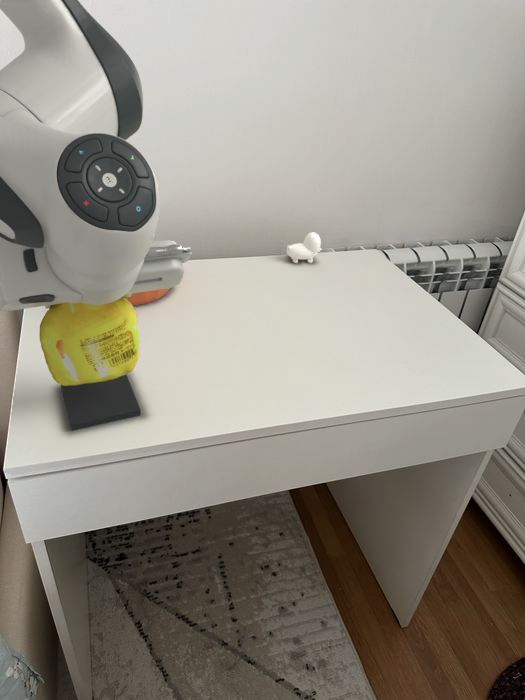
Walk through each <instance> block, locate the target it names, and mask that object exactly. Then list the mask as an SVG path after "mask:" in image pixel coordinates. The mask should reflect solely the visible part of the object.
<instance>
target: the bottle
mask: <svg viewBox="0 0 525 700" xmlns="http://www.w3.org/2000/svg"><path fill="white" fill-rule="evenodd" d="M137 316H138V315H137V312H136V309H135V307H134V306H133V305H132V304H131V303H130V302H129V301H128V300H127V299H126V298H120V299H118V300H116V301H114V302H111V303H108V304H102V305H90V304H84V303H81V302H79V303H61V304H59V305H58V306H55V307H53V308H48V310H47V311H46V312H45V314H44V316H43V317H42V319H41V322H40V324H39V343H40V347H41V350H42V352H43V356H44V360H45V364H46V365H47V368H48V371H49V373H50V375H51V377H52V379H53V381H55V382H56V383H57V384H59V385H60V386H61V385H63V386H68V385H80V384H85V383H95V382H102V381H107V380H112V379H115V378H118V377H120V376H123V375H128V374H130V373H132V372H133V371H134V369H135V368H136V366H137V364H138V361H139V358H140V355H141V353H140V342H141V341H140V331H139V325H138V324H139V322H138V317H137Z"/></svg>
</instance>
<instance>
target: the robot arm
mask: <svg viewBox="0 0 525 700" xmlns="http://www.w3.org/2000/svg"><path fill="white" fill-rule="evenodd" d="M0 11H1V12H3V14H4V15H5V16H6V17H7V18H8V19H9V21H11V23H12V24H13V25H14V26H15V27H16V28H17V30H18V31H19V32H20V34H21V35H22V38H23V41H24V50H23V51H22V52H21V53H20V54H19V55H18V56H17V57H15V58H14V59H13V60H11V61H10V62H9V63H8V64H6V65H5V66H4V67H3V68H1V69H0V312H1V313H3V312H4V313H5V312H12V311H17V310H18V311H19V310H25V309H32V308H39V307H45V309H46V310H47V309H48V310H49V308H53V307H55V306H58V305H59V304H61V303H79V302H81V303H84V304H90V305H102V304H108V303H111V302H114V301H116V300H118V299H120V298H124V297H131V295H132V293H138V292H145V291H152V290H159V289H167V288H170V289H171V288H174V287H177V286H179V285H180V284H181V282H182V280H183V279H184V274H185V268H184V265H183V264H184V263H187V262H189V260H190V259H191V258H192V256H193V249H192V247H190V246H182V244H179V243H177V242H176V241H174V240H168V239H165V240H154V239H155V236H156V233H157V229H158V225H159V222H160V221H159V220H160V216H161V215H160V214H161V206H162V205H161V195H160V189H159V184H158V180H157V178H156V175H155V172H154V170H153V168H152V166H151V164H150V162H149V161H148V159H147V158H146V156H145V155H144V154H143V152H141V151H140V150H139V149H138V148H137V147H136V146H135V145H134V144H132V143H131V142H130V141H128V139H129V138H130V137H132V136H134V134H136V133H137V132H138V131H139V130H140V128H141V125H142V121H143V114H144V113H143V112H144V93H143V86H142V81H141V77H140V74H139V72H138V68H137V67H136V65H135V63H134V62H133V60H132V59H131V58H132V57H130V56H129V54H128V53H127V52H126V50H125V49H124V48H123V46H122V45H121V44H119V42H118V41H117V40H116V39H115V38H114V37H113V36H112V34H110V33H109V32H108V31H107V29H105V28H104V27H103V25H101V24H100V23H99V22H98V21H97V19H96V18H94V17H93V15H92V14H91V13H90V12H88V11H87V9H86V8H85V7H84V6H83V5H82V4H81V2H80V1H79V0H0Z"/></svg>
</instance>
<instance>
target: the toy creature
mask: <svg viewBox="0 0 525 700" xmlns="http://www.w3.org/2000/svg"><path fill="white" fill-rule="evenodd" d="M321 245H322V240H321V237H320V235H319V234H318V233H316V232H314V231H311V232H309V233H307V235H306V236H305V237H304V239H303V242H298V243H293V244H286V255H288V256H289V257H290V260H292V263H294V264H298V263H299V260H307V263H310V264H311V263H313V261H314V257H316V256H317V254H318V253H321V251H322V250H323V249H322V247H321Z"/></svg>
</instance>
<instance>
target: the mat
mask: <svg viewBox="0 0 525 700" xmlns="http://www.w3.org/2000/svg"><path fill="white" fill-rule="evenodd" d="M60 388H61V392H62V397H63V401H64V402H63V403H64V405H65V406H64V407H65V410H66V414H67V417H68V423H69V427H70V431H72V432H73V431H76V430H81V429H85V428H86V429H87V428H89V427H94V426H99V425H103V424H108V423H113V422H116V421H120V420H126V419H130V418H134V417H139V416H141V415H142V412H141V411H142V410H141V408H140V405H139V402H138V400H137V398H136V395H135V392H134V389H133V388H132V385H131V382H130V379H129V378H128V374H126V375H123V376H120V377H118V378H115V379H112V380H107V381H102V382H95V383H85V384H80V385H68V386H63V385H60Z"/></svg>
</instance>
